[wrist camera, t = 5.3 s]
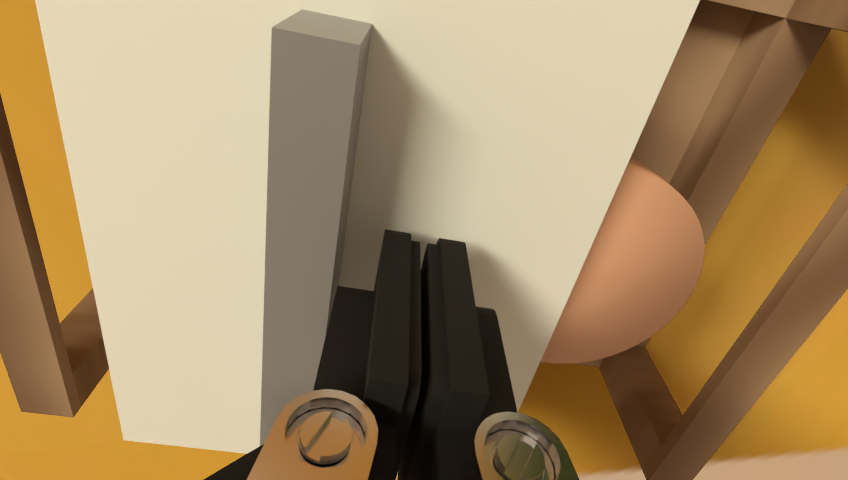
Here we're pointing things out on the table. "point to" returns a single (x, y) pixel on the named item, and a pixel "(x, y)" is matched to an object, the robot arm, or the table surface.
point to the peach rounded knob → (631, 271)
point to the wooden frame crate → (657, 148)
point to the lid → (331, 174)
